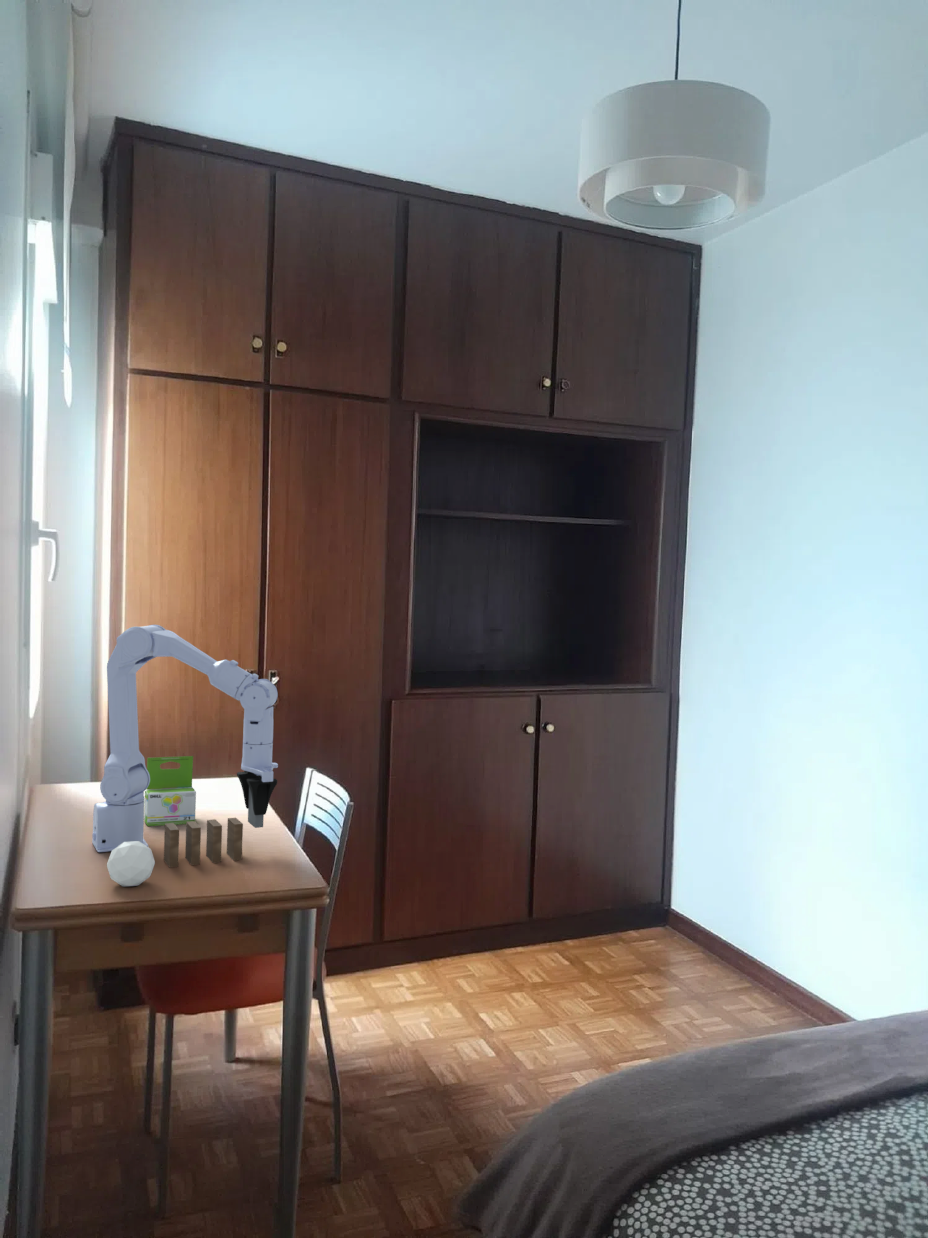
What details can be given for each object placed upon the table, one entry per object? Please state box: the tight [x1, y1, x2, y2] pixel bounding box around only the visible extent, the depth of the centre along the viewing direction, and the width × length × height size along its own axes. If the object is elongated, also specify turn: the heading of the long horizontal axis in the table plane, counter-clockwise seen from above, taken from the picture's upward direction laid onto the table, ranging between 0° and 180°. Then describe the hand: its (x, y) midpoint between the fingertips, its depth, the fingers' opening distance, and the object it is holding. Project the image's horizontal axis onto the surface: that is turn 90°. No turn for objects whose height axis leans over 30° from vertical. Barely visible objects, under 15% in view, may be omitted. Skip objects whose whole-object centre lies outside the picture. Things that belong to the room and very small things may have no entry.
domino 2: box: [184, 820, 202, 866], centre depth 183 cm, size 2×5×7 cm, turn 29°
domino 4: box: [226, 817, 244, 861], centre depth 186 cm, size 2×5×7 cm, turn 29°
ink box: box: [144, 755, 197, 827], centre depth 210 cm, size 10×5×14 cm, turn 114°
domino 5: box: [247, 787, 265, 829], centre depth 188 cm, size 2×5×7 cm, turn 28°
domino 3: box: [205, 818, 223, 864], centre depth 185 cm, size 2×5×7 cm, turn 29°
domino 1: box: [163, 823, 180, 868], centre depth 181 cm, size 2×5×7 cm, turn 29°
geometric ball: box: [106, 841, 156, 888], centre depth 168 cm, size 8×8×8 cm
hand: (255, 811), depth 188 cm, fingers closed on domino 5, 5 cm apart
